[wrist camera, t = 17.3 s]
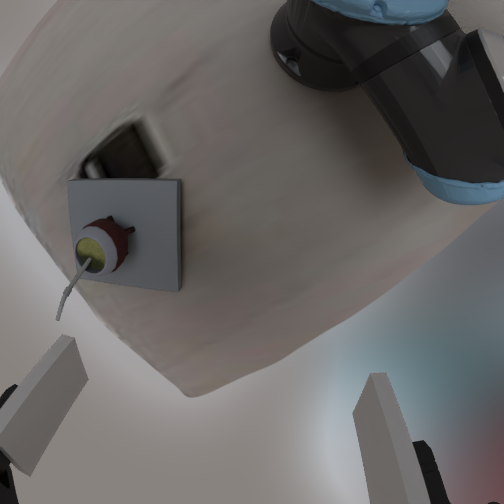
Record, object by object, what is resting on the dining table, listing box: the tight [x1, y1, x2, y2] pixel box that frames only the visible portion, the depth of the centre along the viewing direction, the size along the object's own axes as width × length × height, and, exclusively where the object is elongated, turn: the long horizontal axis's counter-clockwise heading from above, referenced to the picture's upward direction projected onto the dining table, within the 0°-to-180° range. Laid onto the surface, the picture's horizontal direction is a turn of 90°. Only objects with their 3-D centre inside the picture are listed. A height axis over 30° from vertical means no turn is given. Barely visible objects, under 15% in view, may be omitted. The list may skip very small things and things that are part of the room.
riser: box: [67, 178, 182, 292], centre depth 42 cm, size 18×16×4 cm
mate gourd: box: [56, 215, 135, 321], centre depth 33 cm, size 8×8×15 cm
